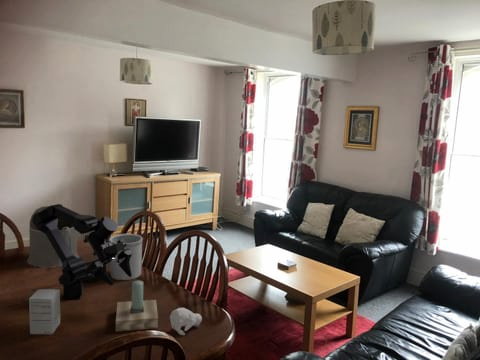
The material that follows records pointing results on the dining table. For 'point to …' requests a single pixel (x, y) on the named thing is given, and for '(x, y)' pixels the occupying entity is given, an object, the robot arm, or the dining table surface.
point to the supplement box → (44, 311)
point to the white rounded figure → (184, 319)
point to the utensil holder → (135, 261)
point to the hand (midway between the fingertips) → (121, 280)
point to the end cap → (89, 278)
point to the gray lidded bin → (43, 249)
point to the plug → (137, 297)
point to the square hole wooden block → (136, 316)
